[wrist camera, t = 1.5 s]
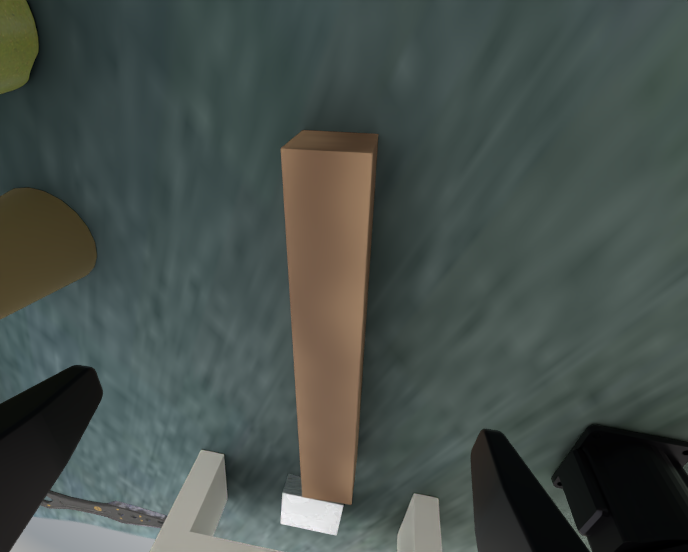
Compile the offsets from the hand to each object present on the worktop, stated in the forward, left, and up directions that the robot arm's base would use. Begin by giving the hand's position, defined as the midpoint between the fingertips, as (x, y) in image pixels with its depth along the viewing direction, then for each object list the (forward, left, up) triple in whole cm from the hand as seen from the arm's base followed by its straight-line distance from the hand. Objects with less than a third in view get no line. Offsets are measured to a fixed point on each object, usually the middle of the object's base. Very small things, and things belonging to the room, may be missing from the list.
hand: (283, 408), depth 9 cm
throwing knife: (+20, +37, -13) cm, 44 cm away
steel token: (0, +27, -13) cm, 30 cm away
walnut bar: (0, +8, -13) cm, 15 cm away
